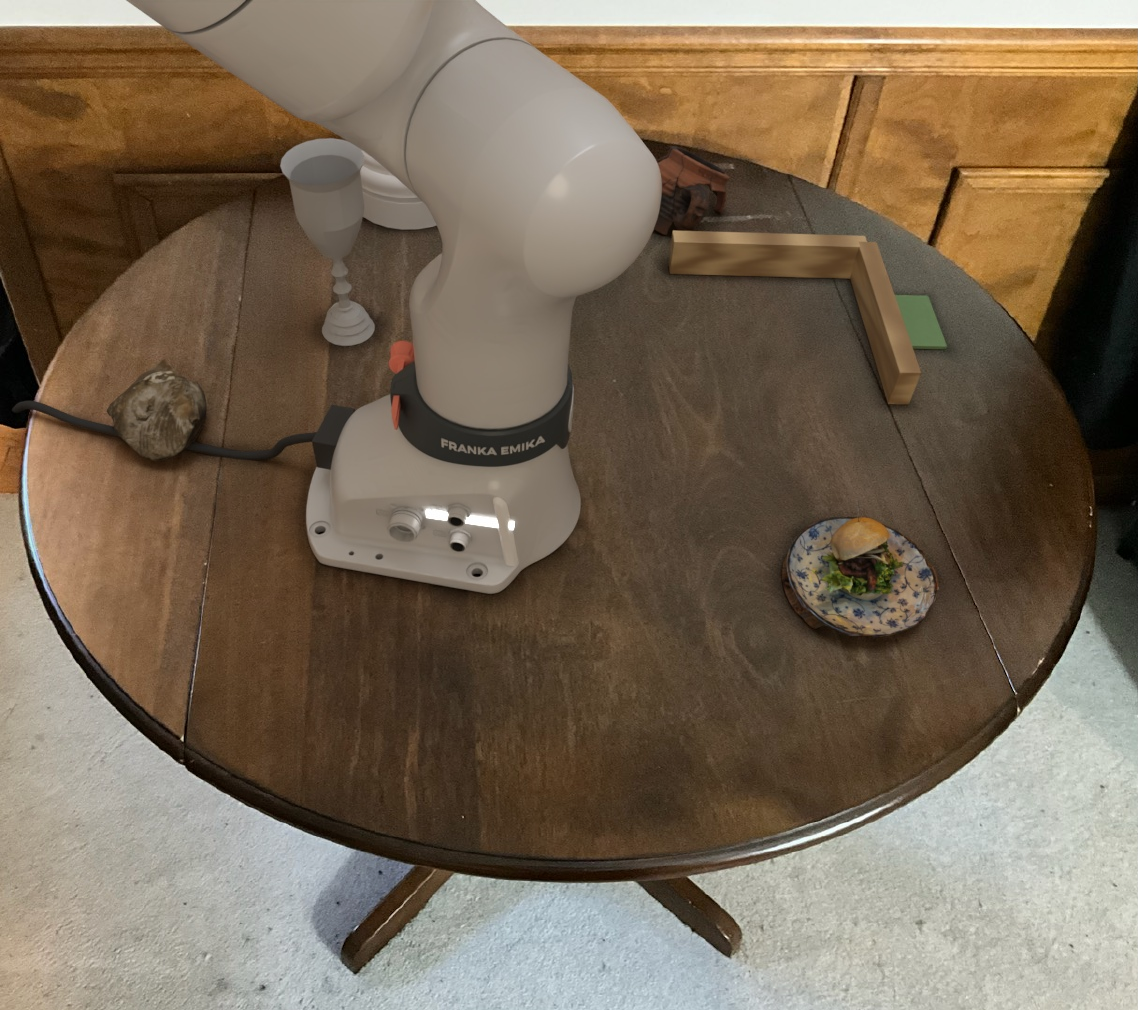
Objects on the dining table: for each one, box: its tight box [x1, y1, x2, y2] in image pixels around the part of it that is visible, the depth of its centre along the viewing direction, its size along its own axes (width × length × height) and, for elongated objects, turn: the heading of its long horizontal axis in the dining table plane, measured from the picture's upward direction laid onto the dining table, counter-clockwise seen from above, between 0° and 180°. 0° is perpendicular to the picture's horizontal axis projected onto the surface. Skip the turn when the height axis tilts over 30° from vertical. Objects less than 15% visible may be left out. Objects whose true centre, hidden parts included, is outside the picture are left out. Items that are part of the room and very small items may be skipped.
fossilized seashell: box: [106, 358, 208, 462], centre depth 89 cm, size 8×7×10 cm
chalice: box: [279, 137, 376, 347], centre depth 94 cm, size 7×7×18 cm
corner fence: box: [667, 230, 922, 406], centre depth 102 cm, size 21×21×4 cm
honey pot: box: [360, 150, 437, 230], centre depth 109 cm, size 13×13×18 cm
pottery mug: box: [653, 145, 730, 236], centre depth 113 cm, size 12×10×8 cm
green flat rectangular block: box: [894, 294, 948, 350], centre depth 105 cm, size 5×8×1 cm, turn 0°
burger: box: [781, 502, 940, 638], centre depth 80 cm, size 12×12×8 cm
